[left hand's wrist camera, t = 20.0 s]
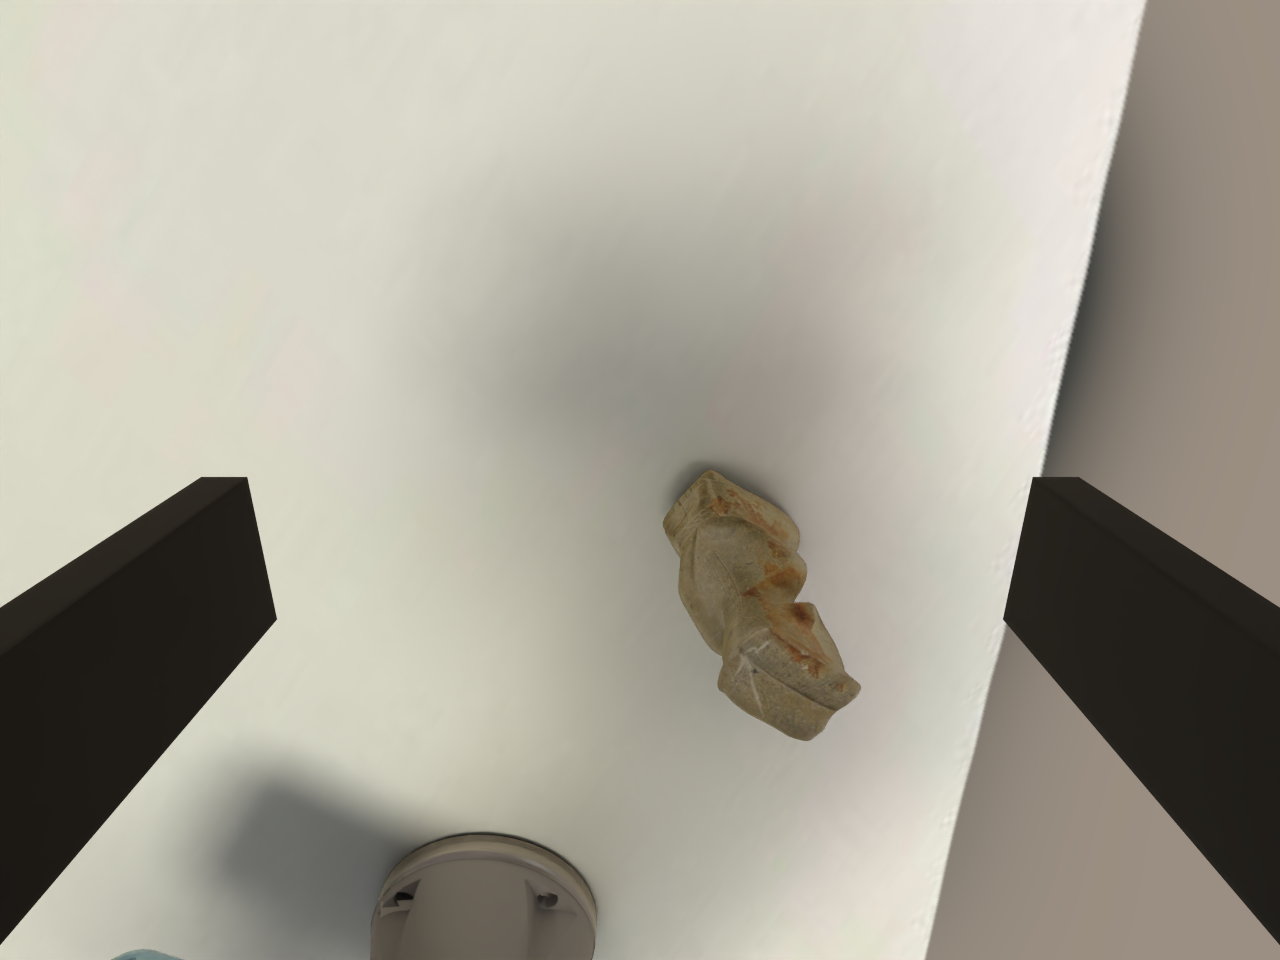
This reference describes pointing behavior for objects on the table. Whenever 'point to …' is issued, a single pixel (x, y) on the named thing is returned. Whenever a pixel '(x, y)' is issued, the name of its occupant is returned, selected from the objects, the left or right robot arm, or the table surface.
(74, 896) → the table surface
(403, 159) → the table surface
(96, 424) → the table surface
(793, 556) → the sculpture
